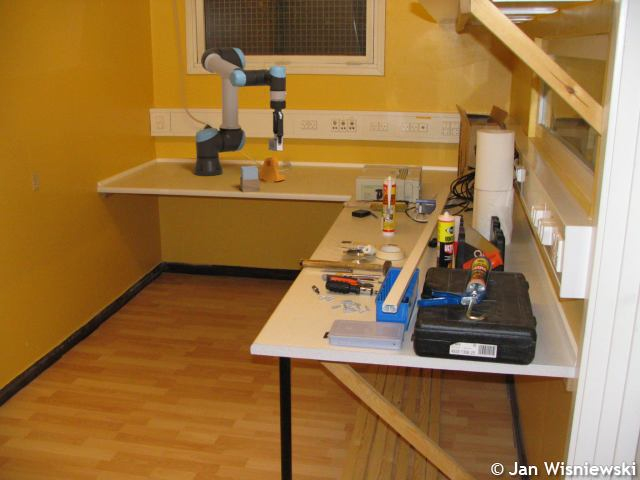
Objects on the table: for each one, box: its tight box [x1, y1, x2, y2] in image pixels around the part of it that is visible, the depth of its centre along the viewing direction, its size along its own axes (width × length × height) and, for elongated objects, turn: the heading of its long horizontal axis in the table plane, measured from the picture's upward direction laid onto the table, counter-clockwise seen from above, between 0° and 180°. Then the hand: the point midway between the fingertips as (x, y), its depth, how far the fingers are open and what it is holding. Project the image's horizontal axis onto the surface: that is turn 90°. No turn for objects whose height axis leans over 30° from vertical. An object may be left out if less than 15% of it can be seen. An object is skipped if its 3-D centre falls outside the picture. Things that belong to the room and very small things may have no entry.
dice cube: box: [268, 137, 281, 152], centre depth 323 cm, size 5×5×5 cm
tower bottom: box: [239, 176, 261, 193], centre depth 321 cm, size 8×8×6 cm
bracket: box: [259, 156, 286, 183], centre depth 342 cm, size 11×7×12 cm, turn 57°
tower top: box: [240, 165, 259, 180], centre depth 319 cm, size 7×7×5 cm
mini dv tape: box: [414, 198, 437, 215], centre depth 277 cm, size 8×2×6 cm, turn 78°
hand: (278, 148), depth 324 cm, fingers closed on dice cube, 6 cm apart
